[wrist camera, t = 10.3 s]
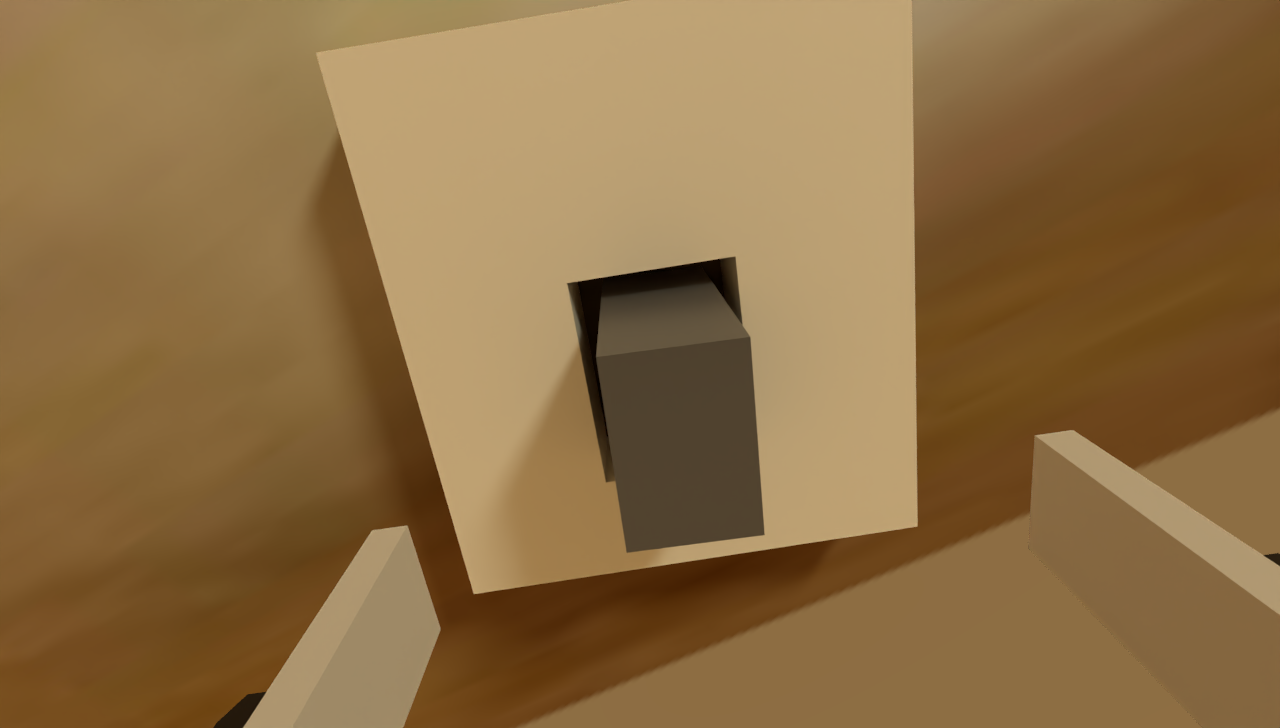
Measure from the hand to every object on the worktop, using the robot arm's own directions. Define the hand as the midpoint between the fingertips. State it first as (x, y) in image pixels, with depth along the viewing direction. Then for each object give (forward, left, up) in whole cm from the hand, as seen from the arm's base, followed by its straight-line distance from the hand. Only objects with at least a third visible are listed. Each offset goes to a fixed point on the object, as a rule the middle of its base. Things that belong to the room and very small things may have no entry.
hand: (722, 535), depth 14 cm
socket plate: (0, -2, -14) cm, 14 cm away
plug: (0, 0, -14) cm, 14 cm away
